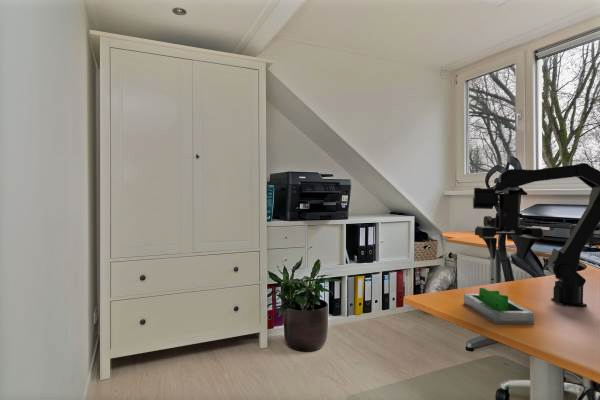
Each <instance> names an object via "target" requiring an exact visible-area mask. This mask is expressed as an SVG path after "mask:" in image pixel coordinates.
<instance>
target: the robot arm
mask: <svg viewBox="0 0 600 400" xmlns="http://www.w3.org/2000/svg"><path fill="white" fill-rule="evenodd" d="M575 177H576V178H577V179H579V180H580V181H582V183H583V184H585V185H587V187H589V188H591V190H590V194H589V199H588V203H587V204H588V205H587V206H586V207H585V209H584V212H583V213H582V215H581V217H580V218H579V220H578V222H577V223H576V225H575V227H574V228H573V231H572V232H571V234H570V235H569V238H568V239H567V240H566V242H565V244H564V245H562V247H561V248H560V249H559V250H558V249H557V248H555V247H554V248H553V249H552V251H551V254H550V256H549V257H548V258H546V260H547V261H548V262H547V268H548V270H549V271H550V273H551V274H553V275H554V277H555V279H556V280H555V281H554V286H553V294H552V295H553V297H551V298H550V300H551V301H554V302H555V303H558V304H560V305H563V306H565V307H588V304H587V303H584V286H585V284H586V282H587V281H586V278H584V277H583V276H582V275H581V274H580V273H579V272H578V268H579V265H580V260H581V253H582V252H583V250H584V249H585V247H586V246H587V244H588V242H589V240H590V239H591V237H592V235H593V234H594V232H595V230H596V229H597V227H598V225H599V223H600V170H599V169H597V168H594V167H593V166H591V165H590V164H588V163H586V162H580V163H576V164H571V165H562V166H561V165H560V166H556V167H555V166H554V167H547V168H545V167H544V168H537V169H523V168H522V169H521V168H520V169H518V168H517V169H516V168H510V169H507V170H503V171H502V172H500V174H499V176H498V181H497V182H496V183H495V184H494V185H492V186H493V187H492V188H482V187H474V188H473V197H472V209H474V210H475V209H476V210H493V209H494V207H497V205H498V212H496V213H495V217H492V216H491V215H485V216H483V221H482V222H483V226H482V225H481V226H479V225H477V226H476V227H475V229H474V235H475V236H478V237H479V239H482V240H483V241H484V243H485V245H486V247H487V250H488V252H489V254H490V258H491V259H492V260H496V254H497V243H498V238H497V237H496V236H498V235H502V236H504V235H507V236H508V235H509V236H510V235H511V236H517V235H518V237H519V241H520V260H522V261H523V260H525V259H526V257H527V255H528V253H529V252H530V250H531V248H532V247H533V246H534V244H535V243H536V242H537V241H539V240H540V238H544V233H545V232H544V230H543V228H541V227H535V226H520V218H523V213H522V212H521V213H520V209H521V208H520V206H521V202H520V201H521V196H528V192H526V191H525V190H524V189H523V187H521V186H524V185H528V184H531V183H535V182H541V181H542V182H543V181H549V180H550V181H551V180H560V179H569V178H575ZM517 187H519V188H518V189H513V188H517ZM506 189H507V190H506ZM504 190H506V193H505V192H504V193H503V191H504ZM499 192H502V193H499Z"/></svg>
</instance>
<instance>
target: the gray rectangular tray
mask: <svg viewBox="0 0 600 400" xmlns="http://www.w3.org/2000/svg"><path fill="white" fill-rule="evenodd" d="M463 304H464V305H466V306H467V307H469V308H470V309H472V310H473V311H475V312H476V313H477V314H479V315H480V316H481V317H483V318H485V320H487V321H489V322H490V323H492V324H493V325H534V324H535V323H534V322H535V313H534V311H531V310H529V309H527V308H525V307H523V306H522V305H519V304H518V303H516V302H514V301H512V300H510V299H508V311H496V310H495V309H493V308H491V307H490V306H488V305H487V304H485V303H483V302H482V301H480V300H479V293H464V294H463Z"/></svg>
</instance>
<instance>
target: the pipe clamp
mask: <svg viewBox="0 0 600 400" xmlns="http://www.w3.org/2000/svg"><path fill="white" fill-rule="evenodd" d="M478 294H479V300H480V301H482V302H483V303H485V304H487V305H488V306H490V307H491V308H493V309H495V310H496V311H508V300H509V296H508V295H505V294H500V291H499V290H488V289H486V288H484V287H480V288H479V293H478Z"/></svg>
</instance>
